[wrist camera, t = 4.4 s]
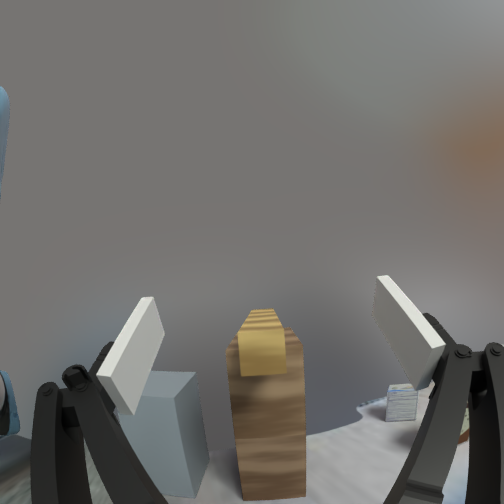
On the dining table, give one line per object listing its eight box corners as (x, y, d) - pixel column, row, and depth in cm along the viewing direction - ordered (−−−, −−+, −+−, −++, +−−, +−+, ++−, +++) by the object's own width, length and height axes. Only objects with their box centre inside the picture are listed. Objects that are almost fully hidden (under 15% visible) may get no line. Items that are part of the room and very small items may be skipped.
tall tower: (305, 496, 31) (302, 344, 35) (243, 500, 31) (225, 350, 35) (295, 446, 49) (290, 327, 52) (249, 449, 49) (238, 331, 53)
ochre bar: (286, 373, 23) (284, 329, 23) (241, 376, 23) (237, 333, 24) (274, 328, 53) (272, 308, 53) (253, 330, 53) (252, 309, 53)
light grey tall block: (195, 498, 31) (173, 397, 34) (140, 490, 32) (113, 392, 35) (209, 459, 45) (196, 372, 48) (164, 455, 46) (147, 370, 48)
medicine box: (416, 412, 51) (419, 382, 52) (416, 420, 47) (419, 389, 49) (386, 414, 55) (388, 384, 56) (385, 422, 51) (387, 391, 53)
